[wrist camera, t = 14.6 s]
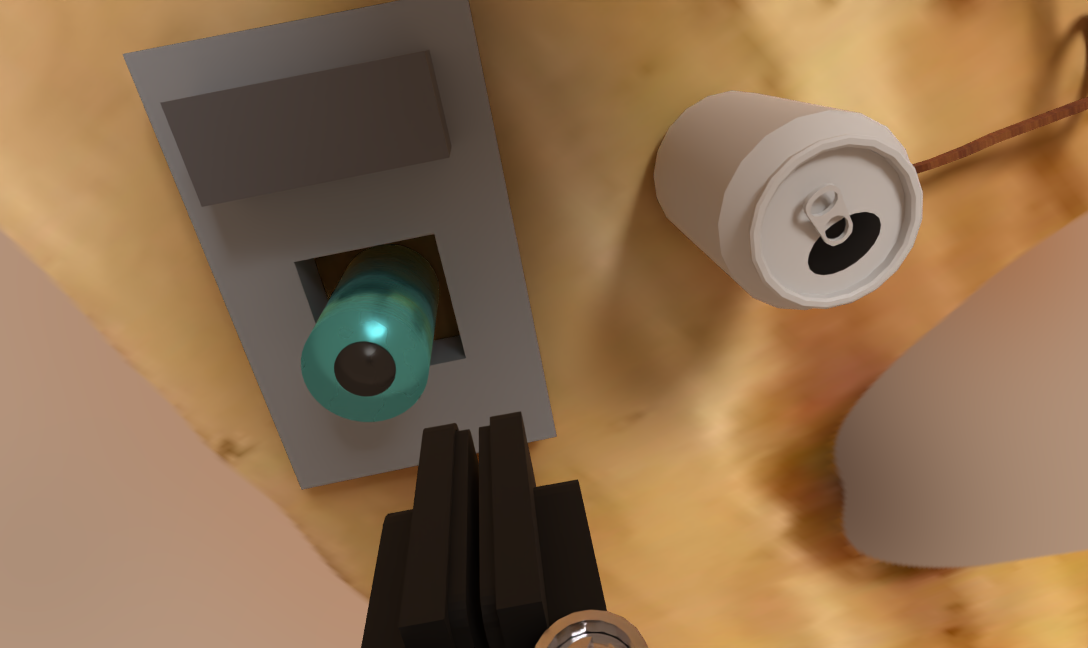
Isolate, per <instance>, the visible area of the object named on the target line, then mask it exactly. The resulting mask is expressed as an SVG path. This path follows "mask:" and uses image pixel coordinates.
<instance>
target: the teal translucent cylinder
mask: <svg viewBox="0 0 1088 648" xmlns="http://www.w3.org/2000/svg"><path fill="white" fill-rule="evenodd" d="M439 293H440V292H439V282H438V279H437V276H436V273H435V271H434V269H433V268H432V266H431V265H430V264H429V262H428V261H427V260H426V259H425V258H424V257H423V256H421V255H420V254H419V253H417V252H416V251H414V250H412V249H410V248H407V247H404V246H400V245H394V244H382V245H377V246H373V247H370V248H368V249H366V250H364V251H362V252H361V253H359V254H358V255H357V256H356V257H355V258H354V259H353V260H352V261H351V262H350V264H349V265H348V267H347V269H346V270H345V272H344V274H343V276H342V278H341V279H340V281H339V283H338V285H337V287H336V288H335V290H334V292H333V294H332V296H331V297H330V299H329V301H328V303H327V305H326V306H325V308H324V310H323V312H322V314H321V315H320V317H319V319H318V321H317V323H316V324H315V326H314V328H313V330H312V332H311V333H310V335H309V337H308V339H307V341H306V343H305V345H304V348H303V351H302V355H301V371H302V376H303V379H304V382H305V384H306V386H307V388H308V390H309V392H310V393H311V395H312V396H313V397H314V398H315V399H316V401H317V402H319V403H320V404H321V405H322V406H323V407H324V408H326V409H327V410H328V411H330V412H332V413H334V414H336V415H338V416H340V417H343V418H346V419H349V420H353V421H359V422H377V421H384V420H387V419H391V418H393V417H396V416H398V415H400V414H402V413H404V412H405V411H407V410H408V409H409V408H411V407H412V406H413V405H414V404H415V403H416V402H417V400H418V399H419V398H420V397H421V395H422V393H423V392H424V389H425V387H426V384H427V380H428V375H429V368H430V361H431V353H432V346H433V338H434V331H435V324H436V316H437V309H438V302H439Z"/></svg>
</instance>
